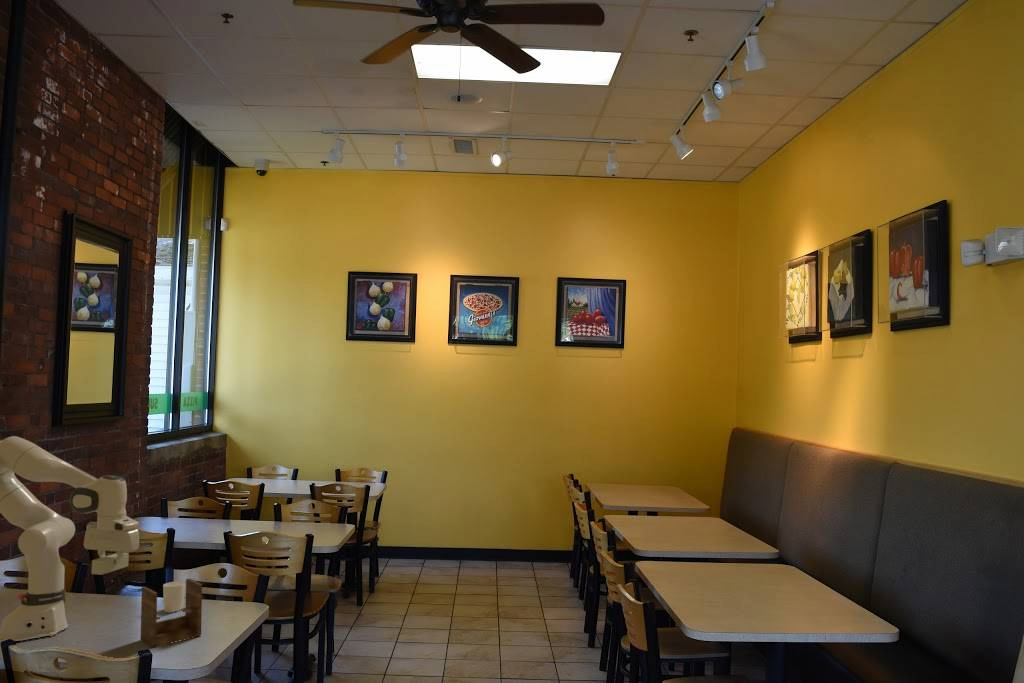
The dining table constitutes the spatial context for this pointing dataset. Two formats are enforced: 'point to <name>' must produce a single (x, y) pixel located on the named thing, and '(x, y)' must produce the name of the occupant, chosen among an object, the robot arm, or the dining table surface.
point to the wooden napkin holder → (174, 627)
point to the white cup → (173, 596)
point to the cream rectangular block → (108, 564)
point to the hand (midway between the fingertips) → (110, 563)
